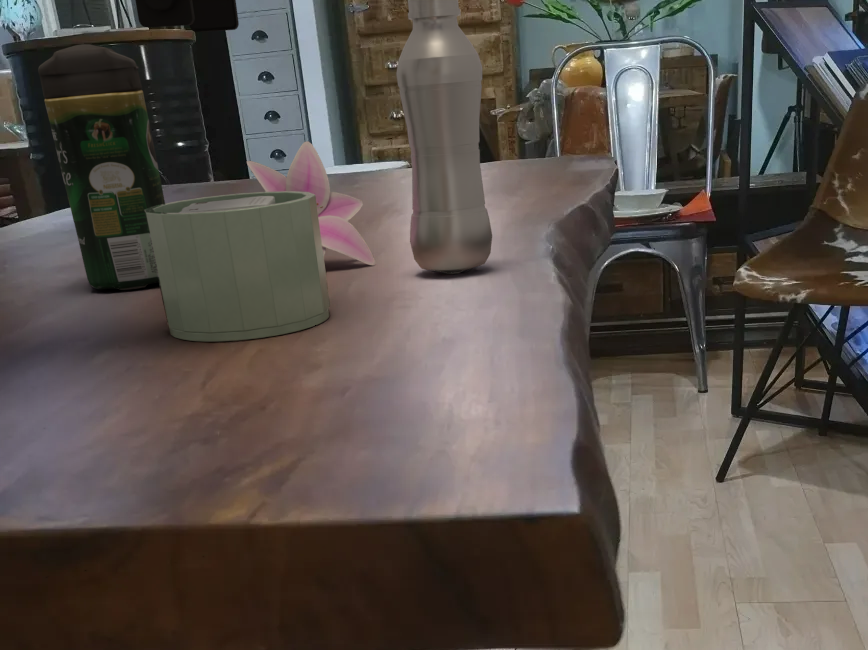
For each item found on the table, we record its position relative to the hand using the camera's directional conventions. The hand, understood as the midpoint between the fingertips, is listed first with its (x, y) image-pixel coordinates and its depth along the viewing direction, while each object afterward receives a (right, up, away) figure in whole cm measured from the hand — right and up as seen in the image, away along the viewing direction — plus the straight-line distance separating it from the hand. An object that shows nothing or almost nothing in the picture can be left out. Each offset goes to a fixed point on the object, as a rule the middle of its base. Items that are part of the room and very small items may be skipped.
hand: (192, 28), depth 69 cm
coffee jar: (-13, -7, +29) cm, 32 cm away
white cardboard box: (+2, -16, +9) cm, 18 cm away
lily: (+3, -6, +28) cm, 29 cm away
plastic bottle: (+16, -8, +22) cm, 28 cm away
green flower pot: (+2, -16, +9) cm, 18 cm away
